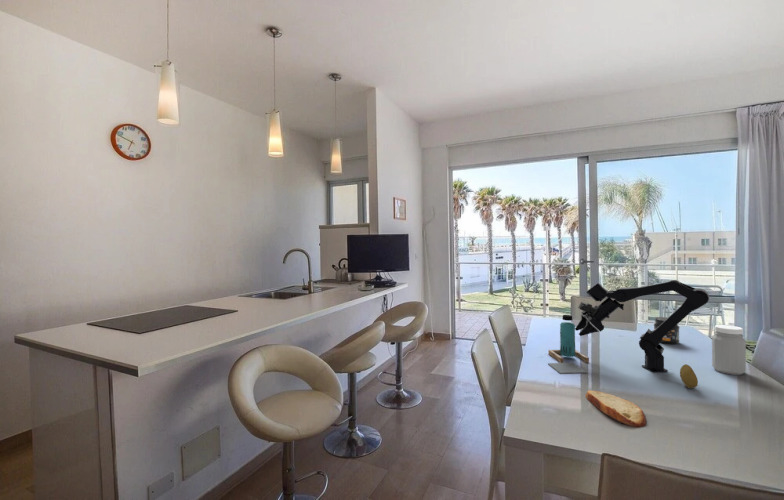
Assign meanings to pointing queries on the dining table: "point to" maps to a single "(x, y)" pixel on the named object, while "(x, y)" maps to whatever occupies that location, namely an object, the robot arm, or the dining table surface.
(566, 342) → the beverage bottle
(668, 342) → the supplement container
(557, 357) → the frame
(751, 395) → the dining table surface
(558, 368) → the rubber mat
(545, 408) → the dining table surface
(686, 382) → the potato
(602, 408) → the bread slice
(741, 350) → the jar
